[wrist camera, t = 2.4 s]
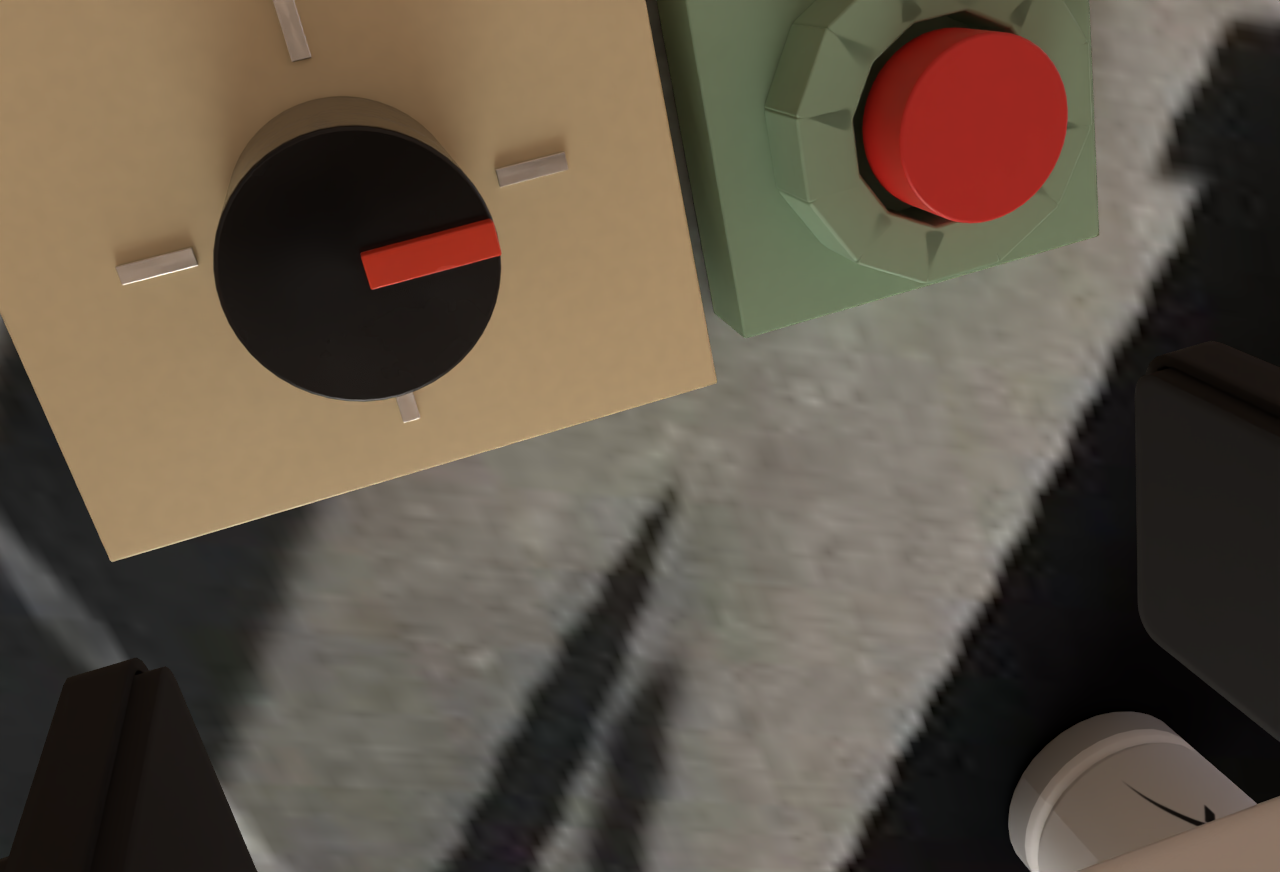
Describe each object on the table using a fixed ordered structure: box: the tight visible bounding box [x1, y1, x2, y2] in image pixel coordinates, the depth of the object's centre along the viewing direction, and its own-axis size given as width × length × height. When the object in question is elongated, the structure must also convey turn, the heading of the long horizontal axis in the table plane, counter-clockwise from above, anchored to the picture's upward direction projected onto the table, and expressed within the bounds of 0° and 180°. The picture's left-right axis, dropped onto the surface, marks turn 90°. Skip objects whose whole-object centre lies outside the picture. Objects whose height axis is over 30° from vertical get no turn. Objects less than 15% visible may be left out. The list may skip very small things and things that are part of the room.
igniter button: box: [862, 27, 1068, 223], centre depth 24 cm, size 4×4×2 cm
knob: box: [213, 96, 502, 402], centre depth 21 cm, size 4×4×5 cm
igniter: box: [657, 0, 1099, 338], centre depth 26 cm, size 9×8×4 cm
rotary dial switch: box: [0, 0, 717, 562], centre depth 24 cm, size 13×11×3 cm
